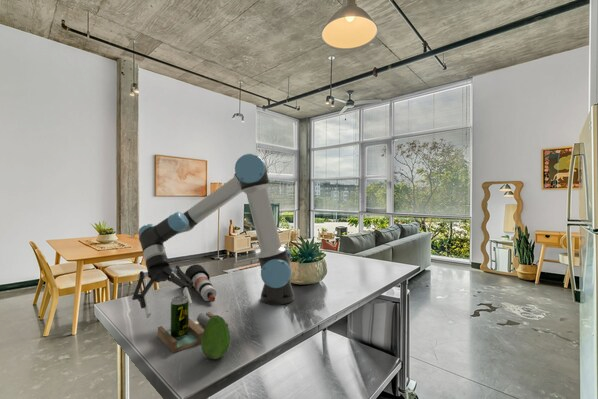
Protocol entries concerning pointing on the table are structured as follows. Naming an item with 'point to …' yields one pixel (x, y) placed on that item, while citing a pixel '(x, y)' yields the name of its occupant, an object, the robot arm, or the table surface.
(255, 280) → the table surface
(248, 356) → the table surface
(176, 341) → the caddy
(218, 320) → the avocado
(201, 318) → the smooth gray cylinder
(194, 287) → the cable
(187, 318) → the beer can
